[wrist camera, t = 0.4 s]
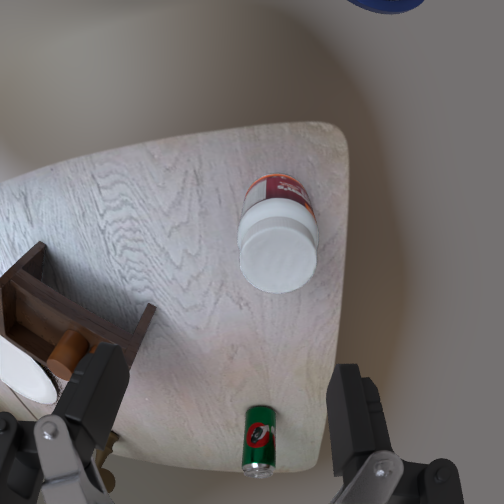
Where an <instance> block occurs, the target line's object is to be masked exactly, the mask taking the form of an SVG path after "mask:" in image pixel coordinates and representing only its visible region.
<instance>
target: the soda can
mask: <svg viewBox="0 0 504 504" xmlns="http://www.w3.org/2000/svg"><path fill="white" fill-rule="evenodd" d="M275 465H276V413H275V412H274V411H273V410H272V409H271V408H269V407H266V406H255V407H252V408H250V409H249V410H248V411H247V412H246V418H245V431H244V444H243V457H242V469H243V471H244V475H246V476H248V477H252V478H267V477H270V476H271V475H273V471H274V470H275Z"/></svg>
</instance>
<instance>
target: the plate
mask: <svg viewBox="0 0 504 504" xmlns="http://www.w3.org/2000/svg"><path fill="white" fill-rule="evenodd" d="M0 379H1V380H2V381H3V382H4V383H5V384H7V385H8V386H9V387H11V388H12V389H13V390H15V391H16V392H18V393H19V394H21V395H23V396H24V397H26V398H28V399H30V400H33V401H35V402H38V403H42V404H52V403H54V402H56V399H57V392H56V388H55V386H54V384H53V383H52V381H51V379H50V377H49V376H48V375H47V374H46V372H45V371H44V370H43V368H42V367H41V366H40V365H39V364H38V363H37V362H36V361H35V359H33V358H32V357H30V356H29V355H27V354H26V353H24V352H23V351H21V350H20V349H19V348H17V347H16V346H14V345H13V344H11V343H10V342H9V341H7V340H6V339H5V338H3V337H2V336H1V335H0Z"/></svg>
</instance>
